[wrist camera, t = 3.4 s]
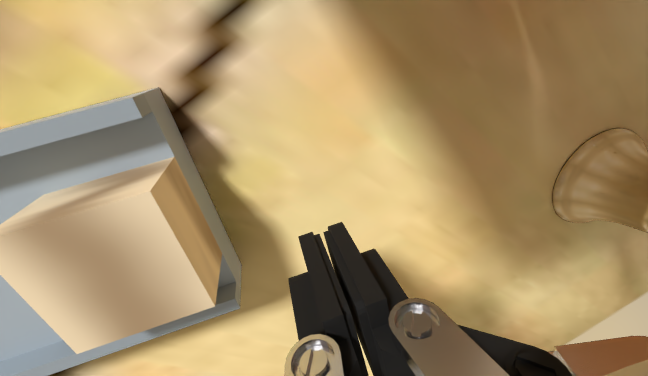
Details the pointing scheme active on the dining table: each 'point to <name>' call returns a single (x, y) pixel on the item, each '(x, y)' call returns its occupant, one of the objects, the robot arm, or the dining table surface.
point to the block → (113, 255)
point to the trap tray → (80, 167)
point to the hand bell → (605, 181)
